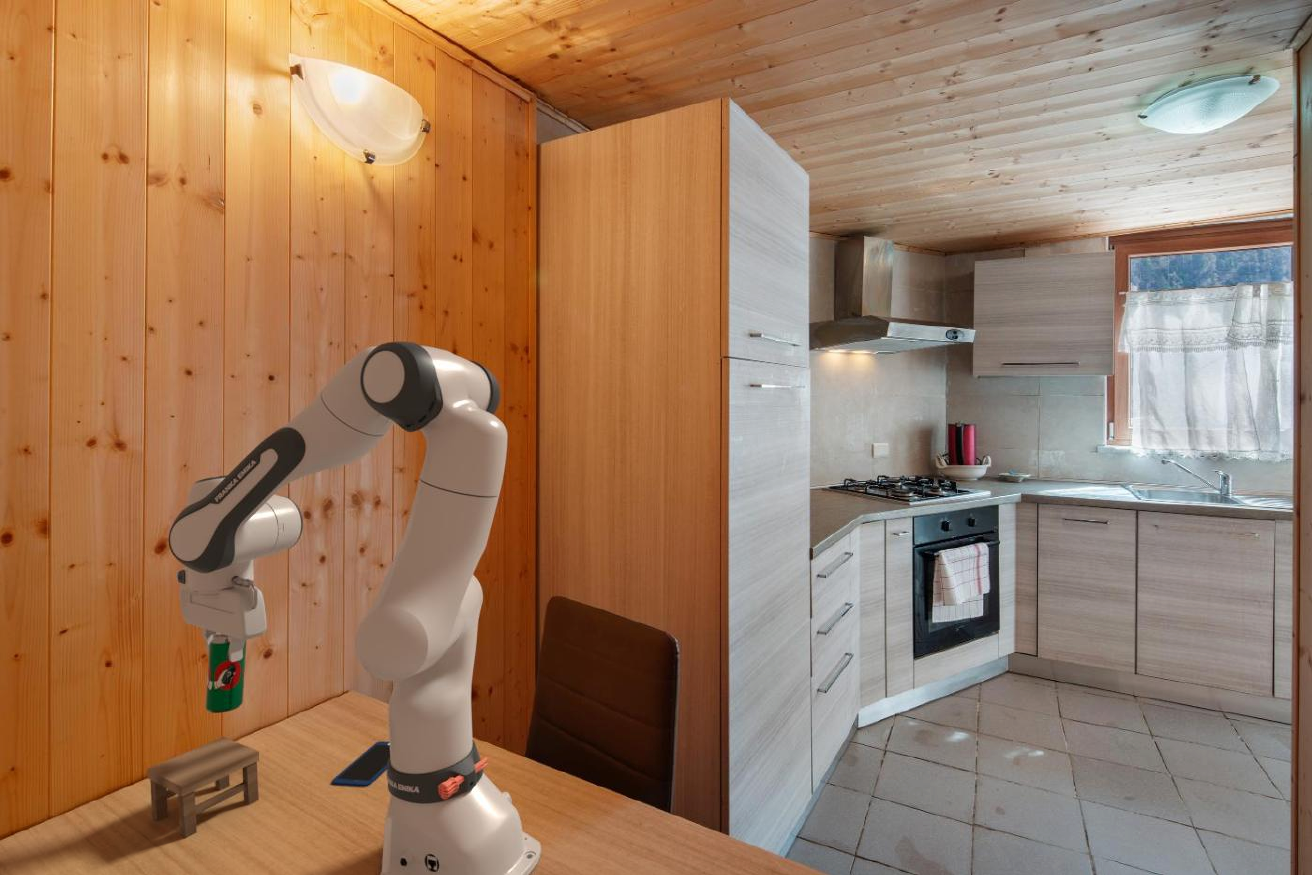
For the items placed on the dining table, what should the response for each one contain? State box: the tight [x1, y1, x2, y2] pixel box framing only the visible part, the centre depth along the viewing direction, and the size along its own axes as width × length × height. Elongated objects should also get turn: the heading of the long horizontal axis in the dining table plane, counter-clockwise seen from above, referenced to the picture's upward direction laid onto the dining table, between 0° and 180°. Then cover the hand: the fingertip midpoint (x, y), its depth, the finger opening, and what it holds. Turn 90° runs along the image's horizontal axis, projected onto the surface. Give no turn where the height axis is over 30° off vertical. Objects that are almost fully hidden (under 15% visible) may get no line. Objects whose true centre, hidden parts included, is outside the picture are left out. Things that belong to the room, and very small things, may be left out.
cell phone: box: [331, 740, 390, 788], centre depth 112 cm, size 7×14×1 cm, turn 171°
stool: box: [146, 736, 260, 839], centre depth 100 cm, size 11×11×8 cm
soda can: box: [205, 633, 247, 714], centre depth 102 cm, size 5×5×12 cm
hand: (224, 656), depth 102 cm, fingers closed on soda can, 5 cm apart
